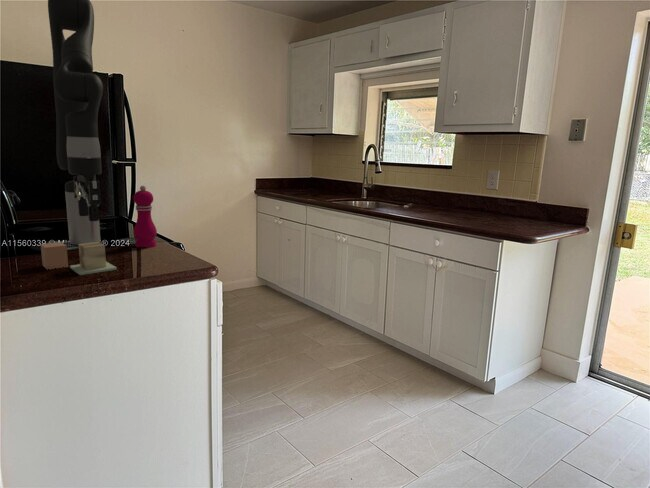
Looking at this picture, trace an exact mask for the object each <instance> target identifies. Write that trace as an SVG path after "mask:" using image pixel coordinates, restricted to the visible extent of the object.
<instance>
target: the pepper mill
mask: <svg viewBox="0 0 650 488" xmlns="http://www.w3.org/2000/svg"><path fill="white" fill-rule="evenodd" d="M146 188H147V187H146V186H145V185H141V186H140V188H139V189H140V190H138V191H136V192H135V193H134V194H133V197H132V199H133V202H134V203H135V204H136V205H135V210H136V211H137V219H136V223H135V226H134V227H133V236H134V238H135V239H136V240H135V247H136V248H139V247H150V248H154V247H156V245H157V243H156V242H157V241H156V239H155V238H156V237H157V234H158V233H157V232H158V231H157V230H158V229H157V228H156V226H155V224H154V221H153V219H152V214H151V213H152V210H153V205H152V203H153V202H154V196H153V194H152V193H151V192H150V191H148V190H147V189H146Z"/></svg>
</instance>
